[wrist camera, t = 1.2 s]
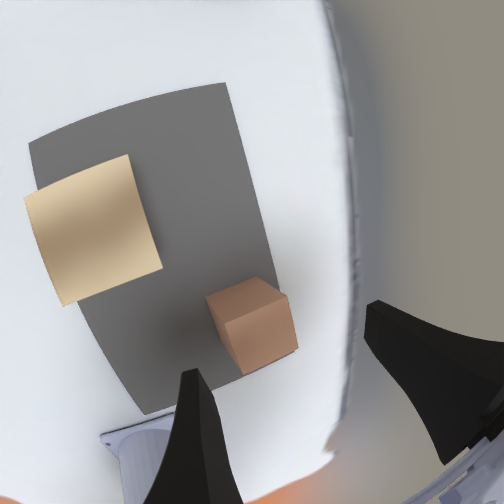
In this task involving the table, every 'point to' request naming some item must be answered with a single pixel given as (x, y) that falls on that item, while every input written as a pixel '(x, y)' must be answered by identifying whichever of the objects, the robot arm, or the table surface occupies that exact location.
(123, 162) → the oak block
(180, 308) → the mat
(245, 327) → the terracotta block
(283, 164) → the table surface
